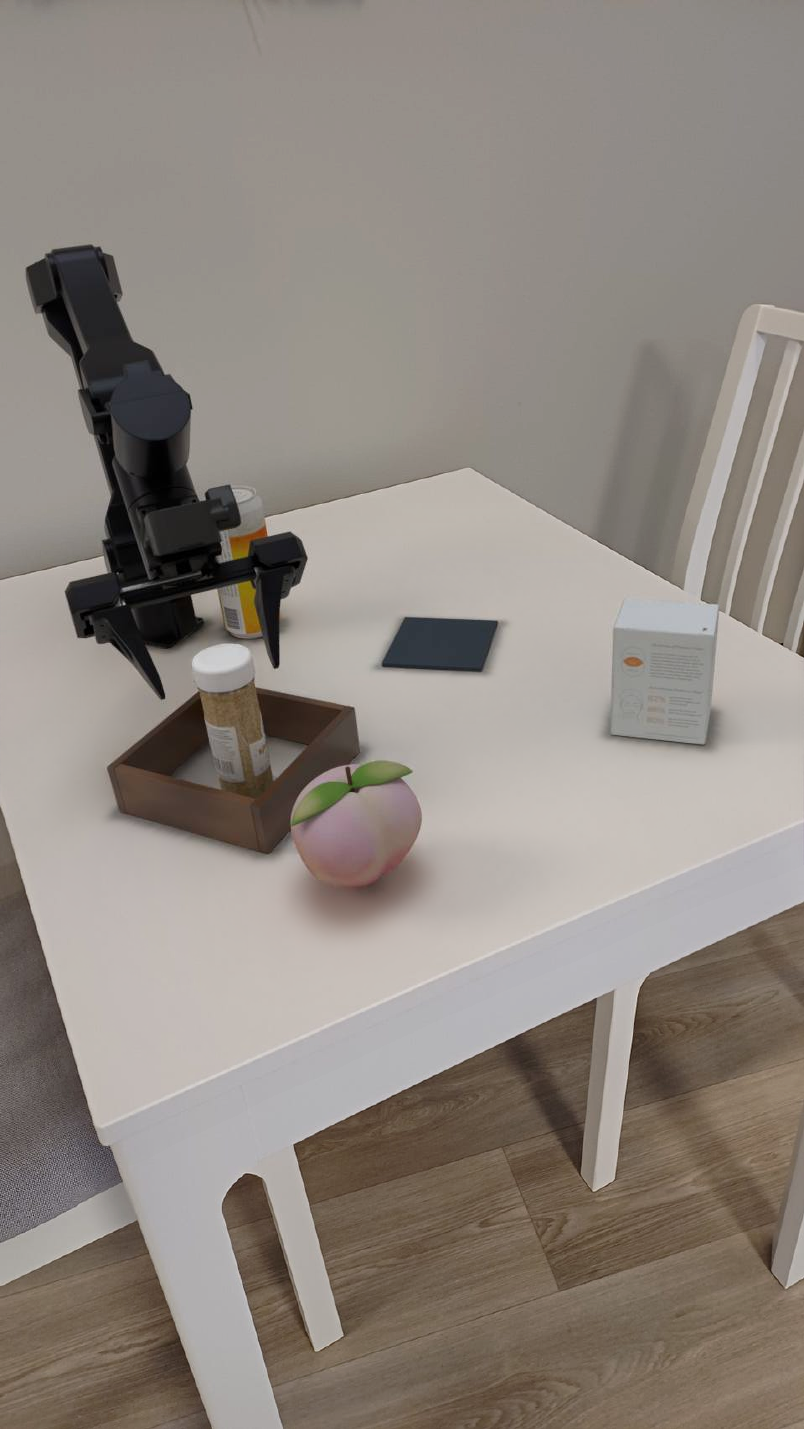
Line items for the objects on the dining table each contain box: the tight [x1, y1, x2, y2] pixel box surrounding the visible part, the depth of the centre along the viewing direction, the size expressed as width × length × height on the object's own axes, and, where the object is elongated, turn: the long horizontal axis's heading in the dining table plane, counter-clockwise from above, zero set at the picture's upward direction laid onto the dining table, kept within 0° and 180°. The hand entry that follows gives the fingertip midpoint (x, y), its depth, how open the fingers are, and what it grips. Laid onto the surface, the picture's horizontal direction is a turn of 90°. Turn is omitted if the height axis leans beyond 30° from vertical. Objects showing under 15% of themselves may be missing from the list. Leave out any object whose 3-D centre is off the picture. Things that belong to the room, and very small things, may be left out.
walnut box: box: [106, 686, 361, 855], centre depth 82 cm, size 15×15×4 cm
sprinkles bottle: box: [191, 643, 274, 799], centre depth 77 cm, size 5×5×13 cm
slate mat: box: [381, 616, 499, 673], centre depth 101 cm, size 10×10×1 cm
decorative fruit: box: [290, 760, 423, 888], centre depth 69 cm, size 9×8×10 cm
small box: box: [609, 597, 720, 745], centre depth 83 cm, size 8×6×10 cm
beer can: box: [203, 485, 282, 640], centre depth 103 cm, size 6×6×15 cm
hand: (221, 682), depth 78 cm, fingers open, 9 cm apart
